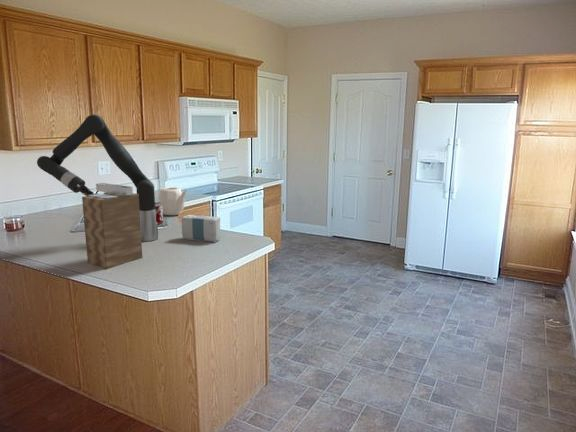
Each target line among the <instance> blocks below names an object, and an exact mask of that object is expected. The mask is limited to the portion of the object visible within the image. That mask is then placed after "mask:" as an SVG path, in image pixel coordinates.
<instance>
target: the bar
mask: <svg viewBox="0 0 576 432" xmlns="http://www.w3.org/2000/svg"><path fill="white" fill-rule="evenodd" d="M95 188H96V192H102V193H105V192H107V193H114V194H121V195H131V194H133V193H134V191H133V186H130V185H129V186H128V185H123V184H122V185H120V184H114V183H107V182H106V183H105V182H100V183H95Z"/></svg>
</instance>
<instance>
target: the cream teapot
mask: <svg viewBox="0 0 576 432" xmlns="http://www.w3.org/2000/svg"><path fill="white" fill-rule="evenodd" d="M186 193H187V189H184V190H183V191H182V189H181V188H180V187H178V186H177V187H176V186H174V187H173V186H171V187H170V186H169V187H167V186H166V187H163V188H162V189H161V190H160V191H159V196H158V200H159V204H160V205H161V206H162V208H163V216H177V215H181V214H182V211H183V210H184V209H185V197H186Z"/></svg>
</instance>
